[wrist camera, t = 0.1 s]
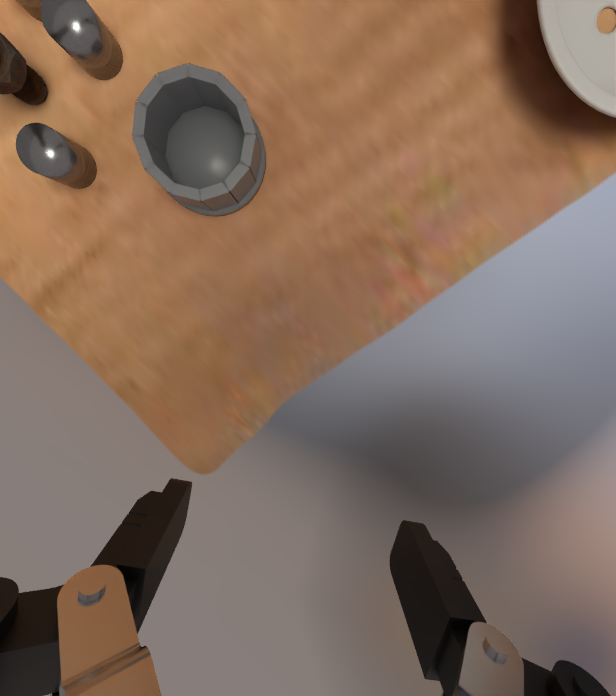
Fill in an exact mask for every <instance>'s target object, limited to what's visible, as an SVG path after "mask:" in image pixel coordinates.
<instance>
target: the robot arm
mask: <svg viewBox="0 0 616 696" xmlns="http://www.w3.org/2000/svg"><path fill="white" fill-rule="evenodd" d="M191 488H192V482H189V481H183V480H178V479H172V478H171V479H170V480H169V482H168V484H167V485H166V487H165V489H164V490H163V492H162V493H161V492H155V491H150V492H149V493H147V494H146V495H144V496H143V497H141V498H140V499H138V500H137V502H136V503H135V505H134V506H133V508H132V509H131V510H130V512H129V514H128V515H127V516H126V517H125V519H124V520H123V522H122V524H121V525H120V526H119V527H118V529H117V530H116V532H115V533H114V534H113V536H112V537H111V539H110V540H109V542H108V543H107V544H106V546H105V547H104V548H103V550H102V551H101V553H100V554H99V555H98V557H97V559H96V560H95V561H94V563H93V564H92V565H91V566H90V567H89V568H86V569H84V570H82V571H80V572H78V573H76V574H75V575H74V576H72V577H71V578H70V579H69V580H68V581H67V582H66V583H65V584H64V585H62V586H58V587H55V588H50V589H44V590H37V591H30V592H23V593H19V591H18V586H17V584H16V583H15V582H14V581H13V580H11V579H8V578H3V577H0V696H43V695H48V694H50V696H161V692H160V689H159V684H158V680H157V676H156V673H155V669H154V665H153V661H152V658H151V654H150V652H149V650H148V648H147V647H146V646H144V647H141V645H140V643H139V639H138V635H137V634H138V632H139V629H140V627H141V625H142V623H143V620H144V618H145V616H146V614H147V611H148V609H149V607H150V605H151V602H152V600H153V598H154V596H155V593H156V591H157V589H158V587H159V584H160V582H161V580H162V578H163V575H164V573H165V571H166V568H167V566H168V564H169V562H170V560H171V557H172V555H173V553H174V551H175V548H176V546H177V544H178V542H179V539H180V537H181V534H182V531H183V528H184V525H185V521H186V517H187V510H188V506H189V500H190V494H191ZM390 570H391V574H392V577H393V581H394V584H395V587H396V590H397V593H398V596H399V599H400V602H401V606H402V609H403V612H404V614H405V618H406V621H407V624H408V627H409V631H410V633H411V637H412V640H413V643H414V646H415V649H416V652H417V656H418V659H419V662H420V665H421V668H422V671H423V674H424V677H425V679H429V680H437V681H440V683H441V686H442V689H443V691H442V693H441V696H610V694H609V693H608V692H607V691H606V689H605V688H604V687H603V686H602V685H601V684H600V683H599V682H598V681H597V680H596V679H595V678H594V677H593V676H592V675H590V674H589V673H588V672H586V671H585V670H584V669H582V668H581V667H579V666H577V665H576V664H574V663H571V662H569V661H564V660H560V661H557V662H556V663H555V665H554V667H553V669H552V671H549V670H547V669H544V668H542V667H540V666H538V665H536V664H534V663H532V662H529V661H528V660H525V659H523V658H522V657H521V656H520V654H519V652H518V650H517V649H516V647H515V646H514V645H513V643H512V642H511V641H510V640H509V639H508V638H507V637H506V636H505V635H504V634H503V633H502V632H501V631H499V630H498V629H496V628H495V627H493V626H491V625H489V624H487V622H486V621H485V619H484V617H483V615H482V613H481V611H480V610H479V608H478V606H477V604H476V603H475V601H474V599H473V597H472V595H471V593H470V592H469V590H468V588H467V586H466V584H465V582H464V581H462V577H461V575H460V573H459V571H458V570H456V566H455V564H454V562H453V561H452V559H451V557H450V555H449V554H448V552H447V551H446V550H445V549H444V548H443V547H442V546H441V545H440V544H439V543H438V541H434V540H433V539H432V537H431V535H430V534H429V532H428V530H427V528H426V526H425V525H424V524H422V523H417V522H411V521H406V520H403V521H402V522H401V524H400V527H399V530H398V533H397V536H396V539H395V542H394V545H393V548H392V551H391V554H390Z"/></svg>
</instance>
